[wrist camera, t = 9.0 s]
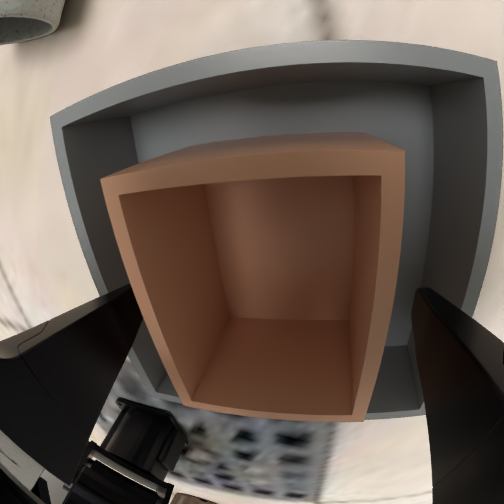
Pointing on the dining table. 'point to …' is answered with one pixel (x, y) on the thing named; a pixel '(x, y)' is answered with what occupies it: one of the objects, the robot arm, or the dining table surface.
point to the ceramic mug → (28, 19)
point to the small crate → (266, 268)
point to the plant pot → (188, 500)
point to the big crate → (311, 121)
